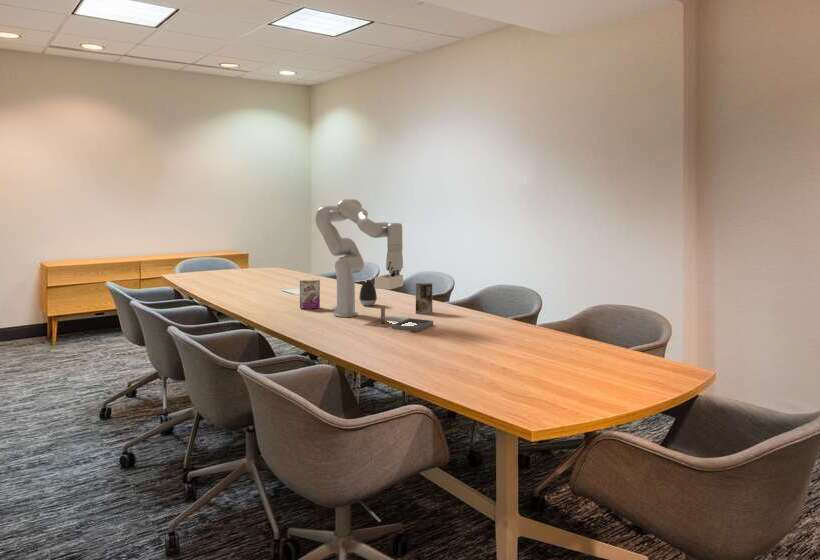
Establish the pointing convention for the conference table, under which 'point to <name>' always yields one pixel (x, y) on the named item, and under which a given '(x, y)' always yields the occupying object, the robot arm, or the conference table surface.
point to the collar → (388, 282)
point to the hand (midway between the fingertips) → (395, 284)
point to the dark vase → (367, 293)
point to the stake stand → (380, 321)
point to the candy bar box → (309, 293)
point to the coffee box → (424, 298)
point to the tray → (416, 328)
